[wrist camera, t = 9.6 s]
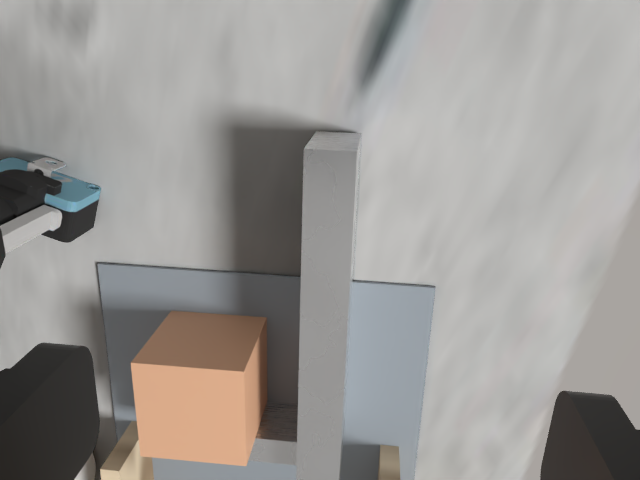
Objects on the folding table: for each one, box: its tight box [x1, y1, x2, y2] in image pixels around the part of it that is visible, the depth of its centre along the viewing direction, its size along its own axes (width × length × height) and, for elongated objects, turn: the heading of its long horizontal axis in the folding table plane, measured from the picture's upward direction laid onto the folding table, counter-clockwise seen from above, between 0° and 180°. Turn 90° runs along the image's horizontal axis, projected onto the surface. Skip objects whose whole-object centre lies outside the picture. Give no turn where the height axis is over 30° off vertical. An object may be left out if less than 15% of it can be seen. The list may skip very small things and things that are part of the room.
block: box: [131, 311, 268, 466], centre depth 27 cm, size 5×5×5 cm
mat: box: [97, 263, 435, 480], centre depth 31 cm, size 20×17×1 cm
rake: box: [248, 131, 361, 480], centre depth 26 cm, size 16×10×4 cm, turn 178°
